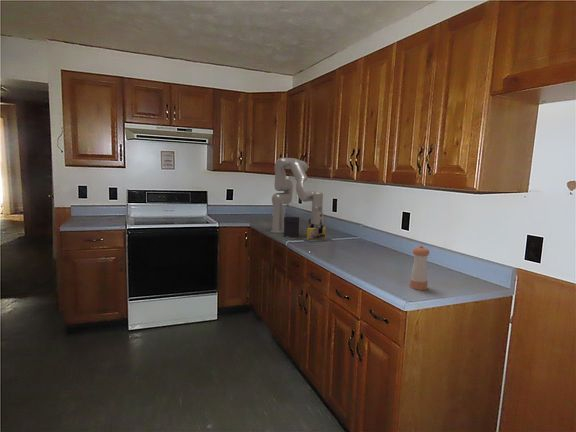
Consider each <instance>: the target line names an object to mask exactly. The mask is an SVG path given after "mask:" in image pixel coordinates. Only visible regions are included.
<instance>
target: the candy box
mask: <svg viewBox="0 0 576 432" xmlns="http://www.w3.org/2000/svg"><path fill="white" fill-rule="evenodd" d="M326 230H327V227H325V226H324V227H323V231H322V234H319V226H318V227H314V228H310V227H308V228H307V227H306V238H307V240H310V239H319V238H325V237H326Z"/></svg>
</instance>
